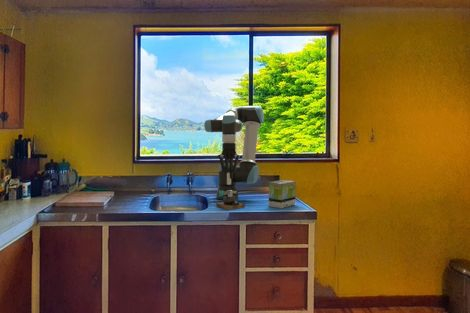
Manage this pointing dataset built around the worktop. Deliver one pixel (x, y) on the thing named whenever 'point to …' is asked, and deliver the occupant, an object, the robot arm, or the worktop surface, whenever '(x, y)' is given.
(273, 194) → the tea box
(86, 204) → the worktop surface
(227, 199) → the cam capstan
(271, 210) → the worktop surface
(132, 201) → the worktop surface
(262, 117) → the robot arm
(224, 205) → the stand
